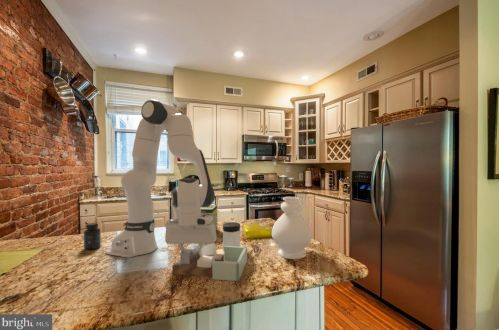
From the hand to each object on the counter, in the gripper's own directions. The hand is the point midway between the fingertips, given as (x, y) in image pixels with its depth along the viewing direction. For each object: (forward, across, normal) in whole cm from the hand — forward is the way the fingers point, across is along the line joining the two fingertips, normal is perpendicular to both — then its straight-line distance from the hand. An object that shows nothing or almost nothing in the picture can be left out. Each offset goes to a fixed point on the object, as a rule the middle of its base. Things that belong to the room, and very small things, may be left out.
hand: (191, 254), depth 89 cm
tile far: (0, +7, +3) cm, 7 cm away
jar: (+5, +11, +21) cm, 24 cm away
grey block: (+2, -1, +1) cm, 2 cm away
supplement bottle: (+2, -58, +14) cm, 60 cm away
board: (+5, +3, +1) cm, 6 cm away
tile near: (+3, +7, -3) cm, 8 cm away
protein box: (+4, -10, +44) cm, 45 cm away
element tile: (+5, +20, +47) cm, 51 cm away
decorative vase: (+7, +39, +20) cm, 44 cm away
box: (+6, +16, +1) cm, 17 cm away
